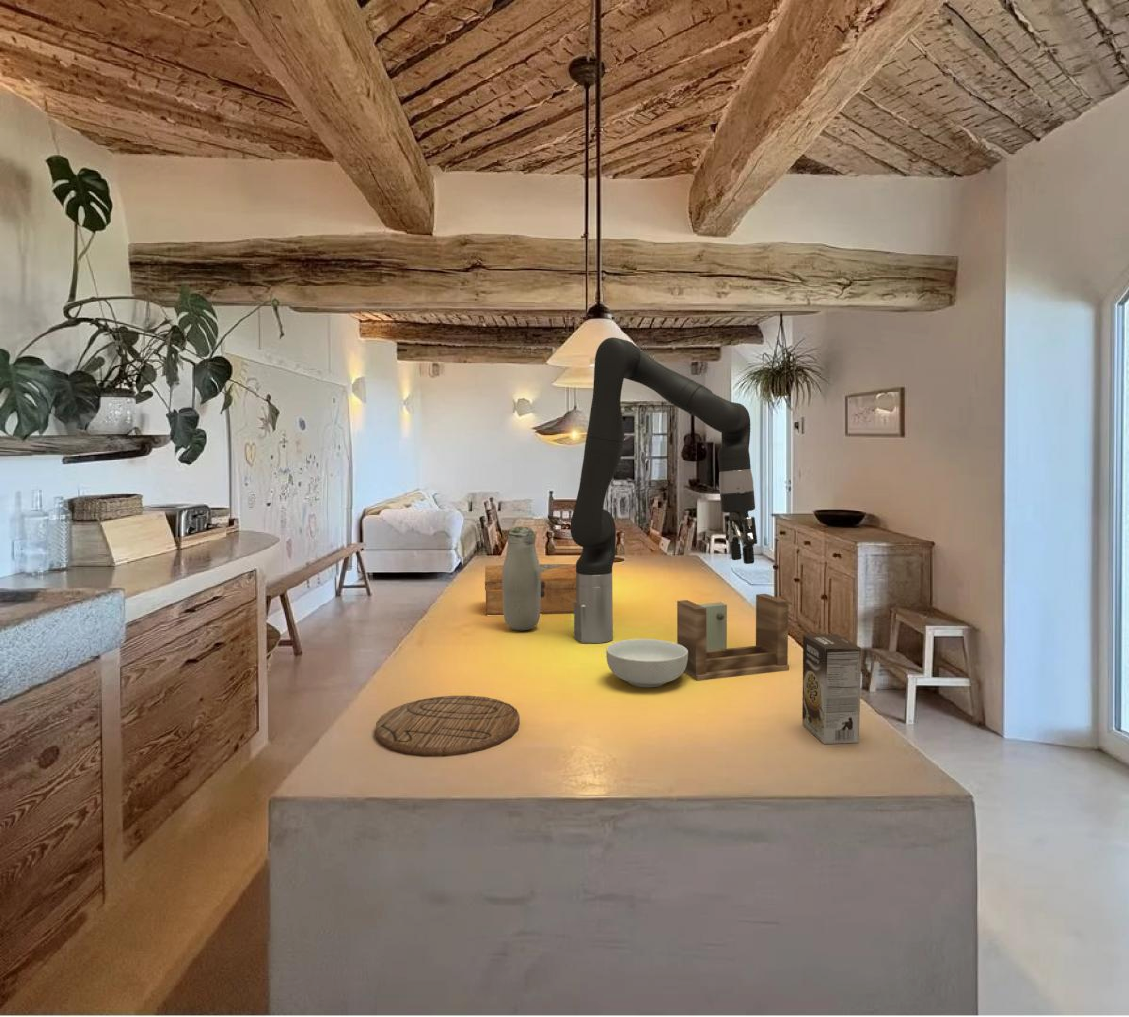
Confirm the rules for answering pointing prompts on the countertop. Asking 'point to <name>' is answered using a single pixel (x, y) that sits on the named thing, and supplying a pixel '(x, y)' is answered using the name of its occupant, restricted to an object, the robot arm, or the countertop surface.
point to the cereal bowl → (647, 661)
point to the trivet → (447, 726)
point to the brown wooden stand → (739, 660)
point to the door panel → (716, 626)
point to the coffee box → (831, 688)
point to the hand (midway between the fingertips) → (742, 561)
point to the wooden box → (554, 589)
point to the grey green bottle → (521, 580)
